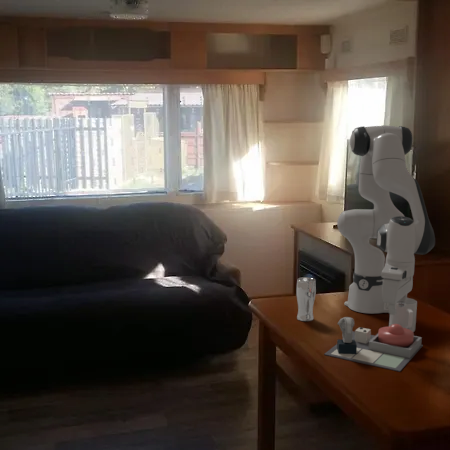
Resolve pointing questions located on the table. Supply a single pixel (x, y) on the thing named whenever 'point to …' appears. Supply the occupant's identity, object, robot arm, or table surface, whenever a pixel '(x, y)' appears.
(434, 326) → the table surface
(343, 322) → the watch
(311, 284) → the beer glass
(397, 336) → the dome
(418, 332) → the table surface
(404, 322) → the mug
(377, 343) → the game board
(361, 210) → the robot arm
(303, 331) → the table surface
